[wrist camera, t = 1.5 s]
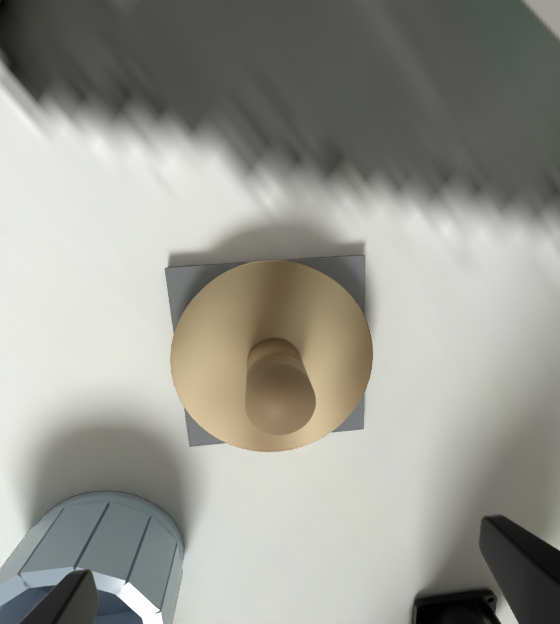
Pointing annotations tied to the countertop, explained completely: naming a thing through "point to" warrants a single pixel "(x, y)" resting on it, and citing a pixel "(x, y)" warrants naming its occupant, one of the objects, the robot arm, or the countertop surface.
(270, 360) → the lid
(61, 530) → the bowl
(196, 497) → the countertop surface
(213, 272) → the mat
